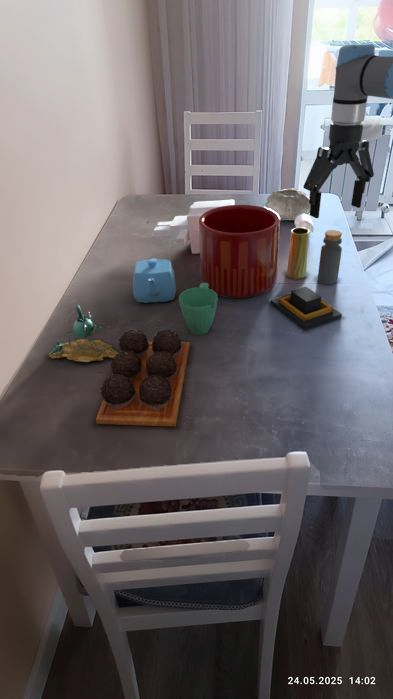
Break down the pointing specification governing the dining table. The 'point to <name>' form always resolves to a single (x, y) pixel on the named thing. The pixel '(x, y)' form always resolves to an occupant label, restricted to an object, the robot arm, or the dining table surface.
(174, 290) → the teapot
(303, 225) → the roll
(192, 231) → the white stepped block
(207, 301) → the mug
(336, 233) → the bottle
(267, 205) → the decorative shell
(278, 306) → the base
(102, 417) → the chocolate muffin tray
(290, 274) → the vase
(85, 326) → the cartoon bug character
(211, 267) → the planter
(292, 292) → the black rectangular block
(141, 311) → the dining table surface
